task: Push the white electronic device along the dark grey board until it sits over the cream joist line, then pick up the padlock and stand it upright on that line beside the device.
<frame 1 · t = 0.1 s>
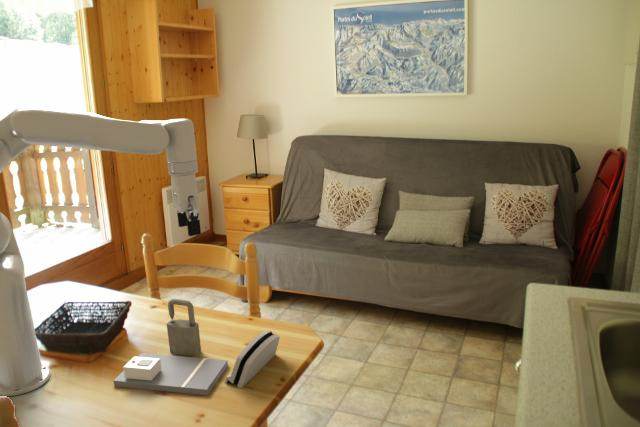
hand: (189, 230, 148), 31 cm above the table, tool pointing down, fingers open, 9 cm apart
grey zipper pouch: (255, 370, 138), on the table
white electronic device: (142, 367, 134), point 4 cm above the table, slide at 0.0 cm
padlock: (185, 352, 148), on the table
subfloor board: (172, 375, 136), on the table
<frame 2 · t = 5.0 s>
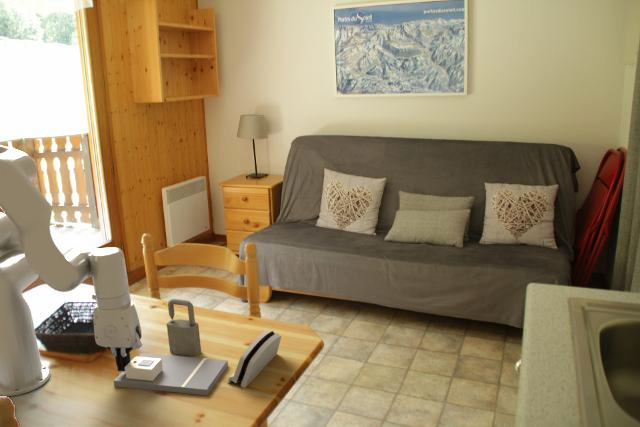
hand: (124, 368, 135), 3 cm above the table, tool pointing down, fingers closed
white electronic device: (143, 367, 134), point 4 cm above the table, slide at 0.4 cm, touching gripper
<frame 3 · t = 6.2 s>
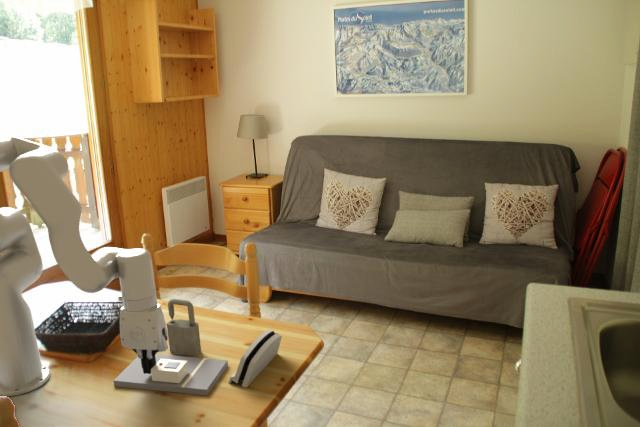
hand: (149, 370, 134), 3 cm above the table, tool pointing down, fingers closed
white electronic device: (169, 369, 132), point 4 cm above the table, slide at 7.2 cm, touching gripper
everything else where it was.
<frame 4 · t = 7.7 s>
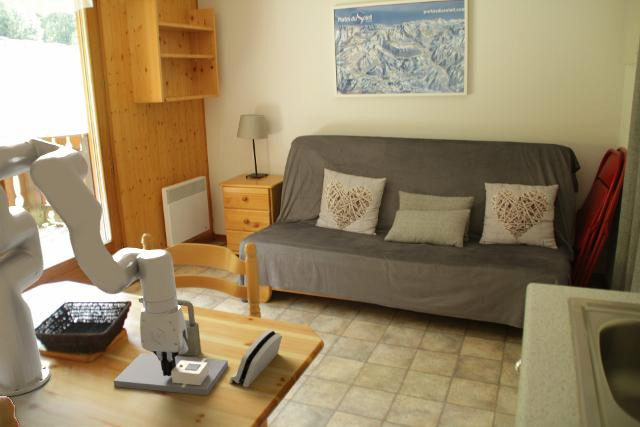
hand: (169, 372, 133), 3 cm above the table, tool pointing down, fingers closed
white electronic device: (190, 371, 131), point 4 cm above the table, slide at 12.5 cm, touching gripper
everything else where it was.
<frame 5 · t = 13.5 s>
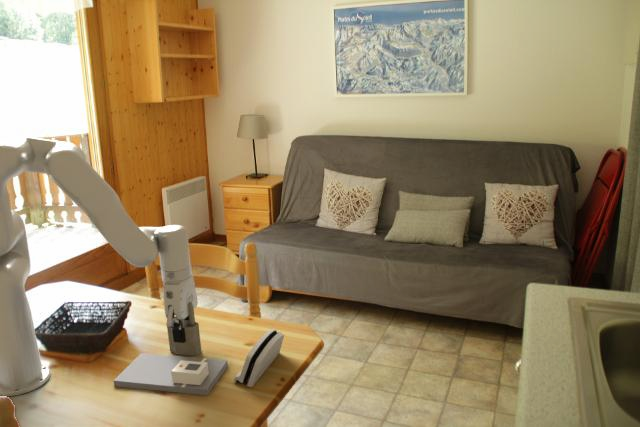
hand: (184, 336, 147), 4 cm above the table, tool pointing down, fingers closed on padlock, 4 cm apart
white electronic device: (190, 371, 131), point 4 cm above the table, slide at 12.5 cm
padlock: (185, 352, 148), on the table, touching gripper
when the fingers open (7 cm above the table, at t = 19.9 s): padlock drops 1 cm, resting on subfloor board.
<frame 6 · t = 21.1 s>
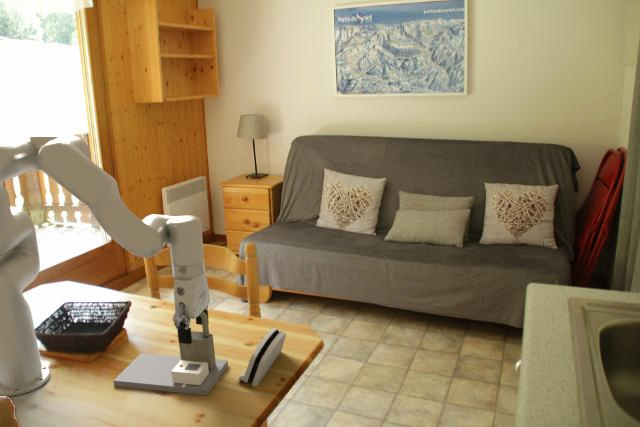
hand: (194, 333, 135), 10 cm above the table, tool pointing down, fingers open, 9 cm apart
padlock: (199, 366, 138), point 1 cm above the table, touching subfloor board
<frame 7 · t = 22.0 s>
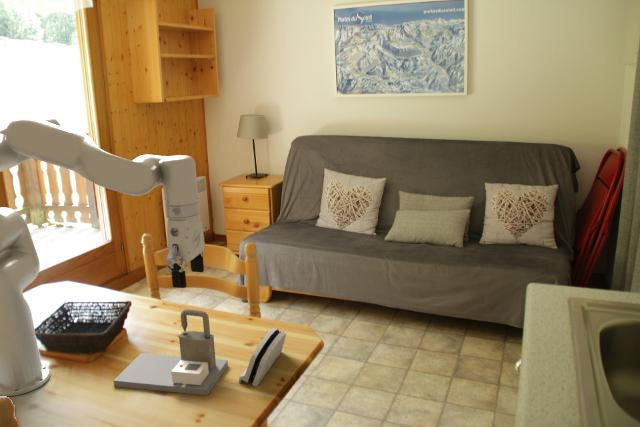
hand: (189, 279, 131), 25 cm above the table, tool pointing down, fingers open, 9 cm apart
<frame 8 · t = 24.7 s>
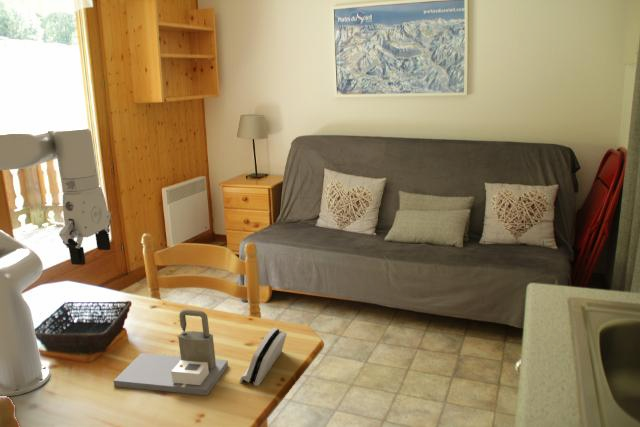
hand: (91, 256, 127), 32 cm above the table, tool pointing down, fingers open, 9 cm apart
at the end: white electronic device slide at 12.5 cm; padlock 0.2 cm from the target spot, point 1.4 cm above the table; padlock tilted 0° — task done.
